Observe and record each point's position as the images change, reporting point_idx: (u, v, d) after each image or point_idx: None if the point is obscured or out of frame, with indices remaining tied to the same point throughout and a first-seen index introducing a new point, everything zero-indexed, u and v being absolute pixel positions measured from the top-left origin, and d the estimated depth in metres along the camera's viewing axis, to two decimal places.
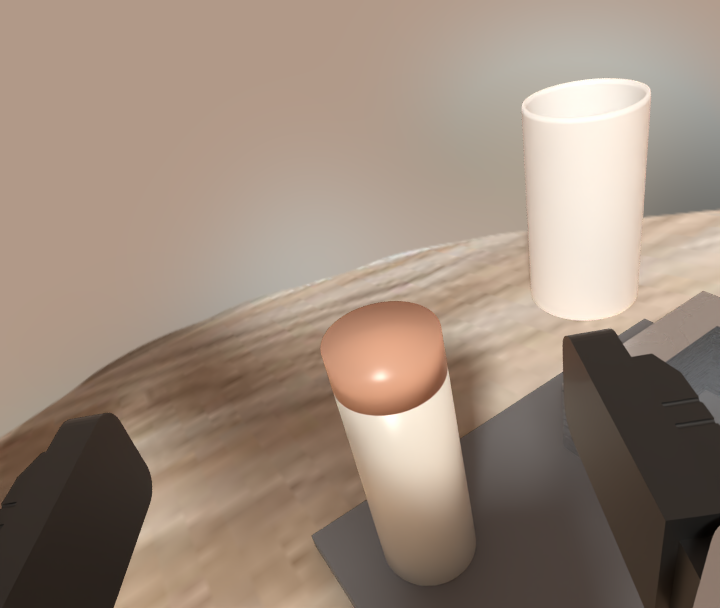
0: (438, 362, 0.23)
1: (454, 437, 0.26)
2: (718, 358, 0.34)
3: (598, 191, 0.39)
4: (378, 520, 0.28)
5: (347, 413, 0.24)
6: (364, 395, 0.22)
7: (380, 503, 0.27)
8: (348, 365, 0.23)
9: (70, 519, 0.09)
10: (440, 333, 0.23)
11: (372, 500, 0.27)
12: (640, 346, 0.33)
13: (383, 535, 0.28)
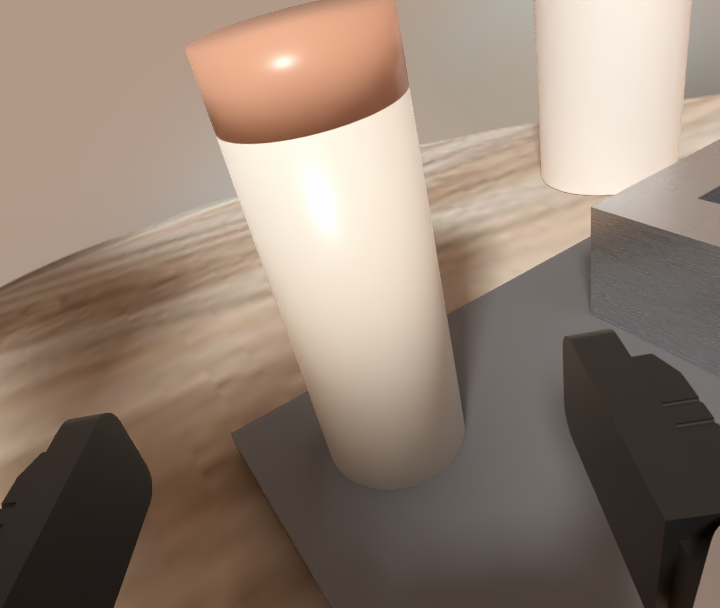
0: (388, 45, 0.13)
1: (424, 222, 0.15)
2: None
3: None
4: (310, 381, 0.18)
5: (234, 157, 0.14)
6: (251, 94, 0.12)
7: (308, 342, 0.16)
8: (224, 45, 0.12)
9: (70, 520, 0.09)
10: None
11: (297, 342, 0.17)
12: (701, 162, 0.23)
13: (320, 408, 0.18)
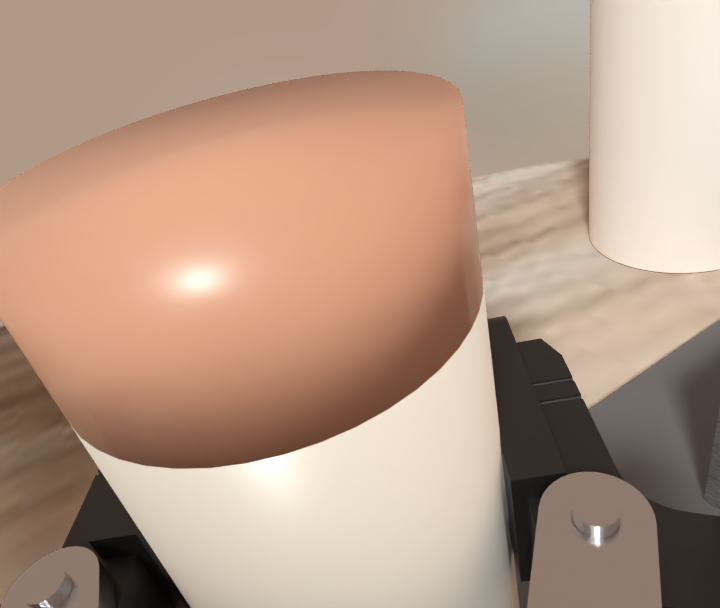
0: (453, 225, 0.05)
1: (501, 521, 0.08)
2: None
3: None
4: None
5: (90, 452, 0.06)
6: (95, 373, 0.05)
7: None
8: (30, 234, 0.05)
9: None
10: (459, 105, 0.05)
11: None
12: None
13: None
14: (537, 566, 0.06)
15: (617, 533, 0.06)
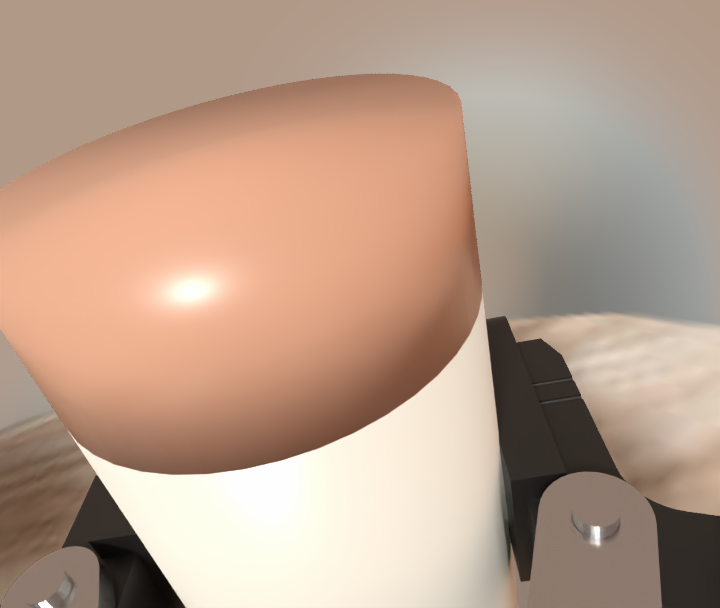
0: (451, 230, 0.05)
1: (500, 526, 0.08)
2: None
3: None
4: None
5: (87, 458, 0.06)
6: (92, 380, 0.05)
7: None
8: (27, 239, 0.05)
9: None
10: (457, 109, 0.05)
11: None
12: None
13: None
14: (537, 566, 0.06)
15: (617, 533, 0.06)
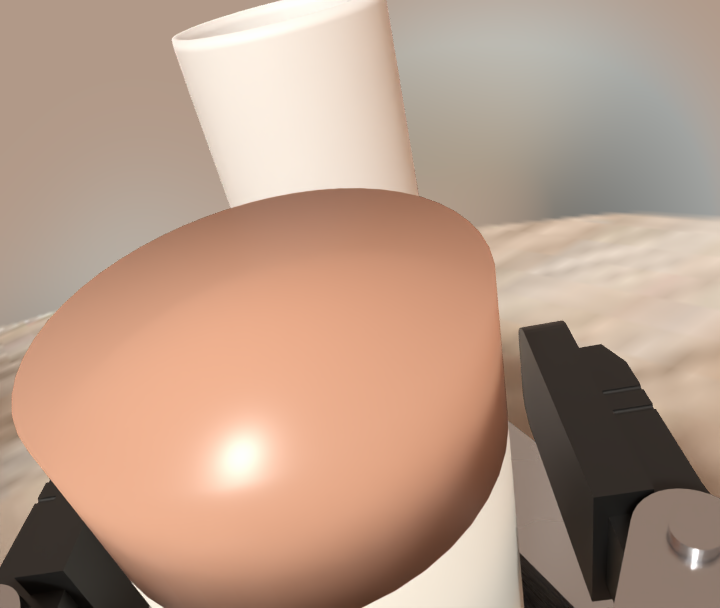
0: (487, 397, 0.05)
1: None
2: None
3: (294, 179, 0.21)
4: None
5: None
6: (156, 559, 0.05)
7: None
8: (89, 420, 0.05)
9: None
10: (492, 276, 0.06)
11: None
12: None
13: None
14: (637, 592, 0.06)
15: None
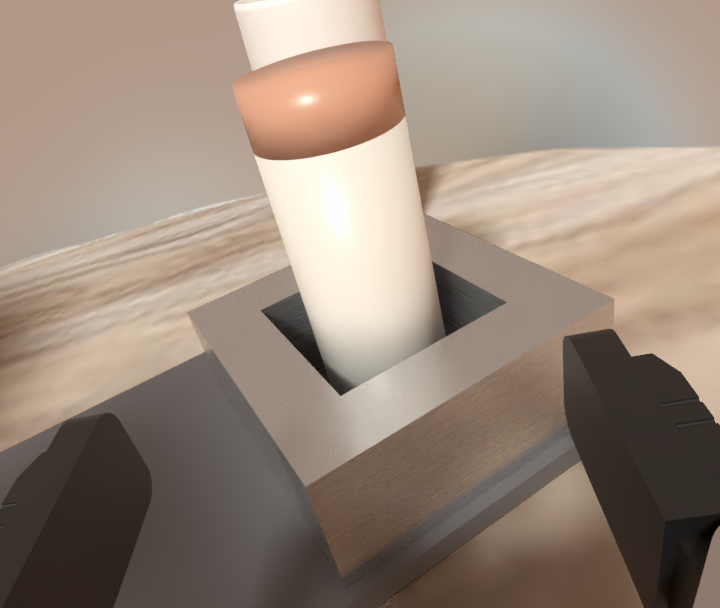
0: (389, 84, 0.17)
1: (418, 220, 0.19)
2: None
3: None
4: (327, 354, 0.22)
5: (270, 170, 0.18)
6: (286, 122, 0.16)
7: (326, 320, 0.20)
8: (264, 86, 0.16)
9: (70, 520, 0.09)
10: (391, 48, 0.17)
11: (316, 321, 0.21)
12: None
13: (335, 377, 0.22)
14: None
15: None
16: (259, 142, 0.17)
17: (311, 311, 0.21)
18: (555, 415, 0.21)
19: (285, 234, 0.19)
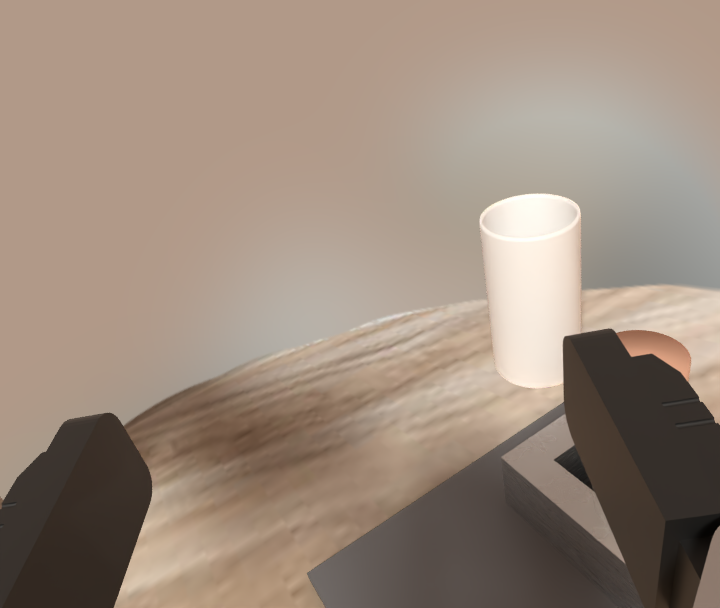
0: (689, 372, 0.33)
1: None
2: None
3: (539, 291, 0.48)
4: None
5: None
6: None
7: None
8: None
9: (70, 519, 0.09)
10: (688, 352, 0.33)
11: None
12: (563, 426, 0.42)
13: None
14: None
15: None
16: None
17: None
18: None
19: None
